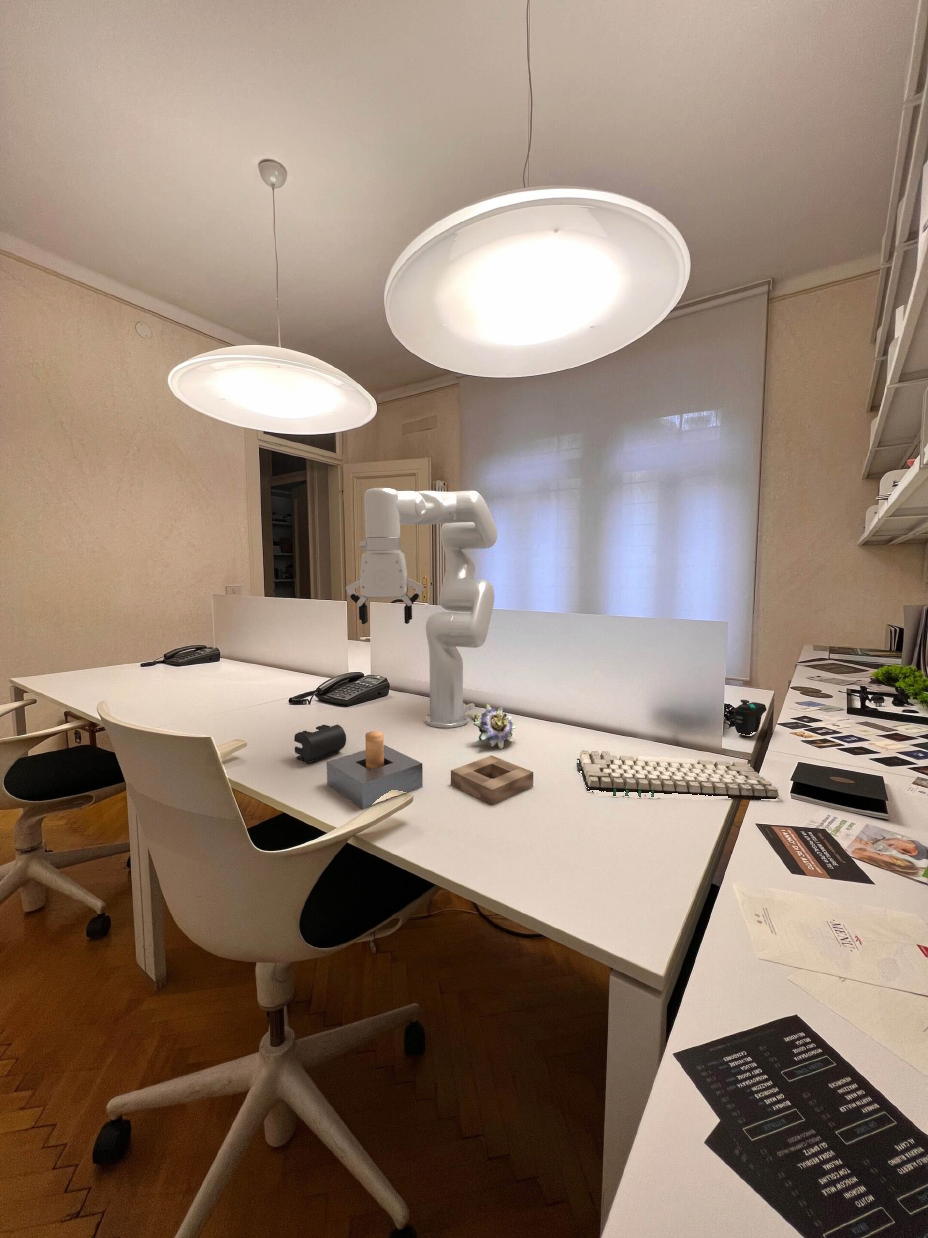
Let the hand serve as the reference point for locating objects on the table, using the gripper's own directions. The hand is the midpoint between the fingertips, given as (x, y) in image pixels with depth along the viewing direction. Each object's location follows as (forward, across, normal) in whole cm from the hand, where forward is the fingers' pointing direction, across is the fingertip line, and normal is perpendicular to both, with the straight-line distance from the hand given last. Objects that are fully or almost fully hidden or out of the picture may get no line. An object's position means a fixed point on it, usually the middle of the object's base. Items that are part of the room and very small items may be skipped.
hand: (386, 623), depth 113 cm
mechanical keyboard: (+33, +61, -9) cm, 70 cm away
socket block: (+32, -1, -14) cm, 35 cm away
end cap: (+32, -17, +1) cm, 36 cm away
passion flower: (+33, +24, +11) cm, 42 cm away
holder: (+32, +23, -13) cm, 42 cm away
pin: (+32, 0, -14) cm, 35 cm away
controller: (+34, +92, +20) cm, 100 cm away
